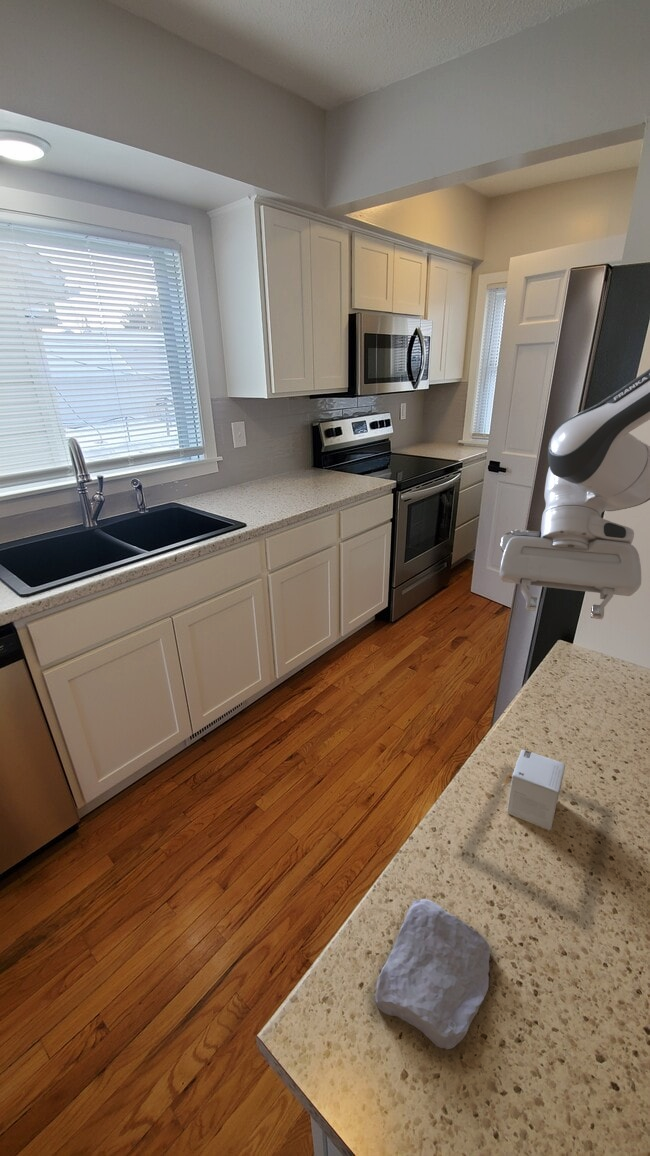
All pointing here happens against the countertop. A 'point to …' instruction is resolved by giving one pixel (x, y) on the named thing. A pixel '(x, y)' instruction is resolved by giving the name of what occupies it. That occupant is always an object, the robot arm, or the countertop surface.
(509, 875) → the countertop surface
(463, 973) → the stone block
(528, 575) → the robot arm
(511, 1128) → the countertop surface
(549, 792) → the product carton
